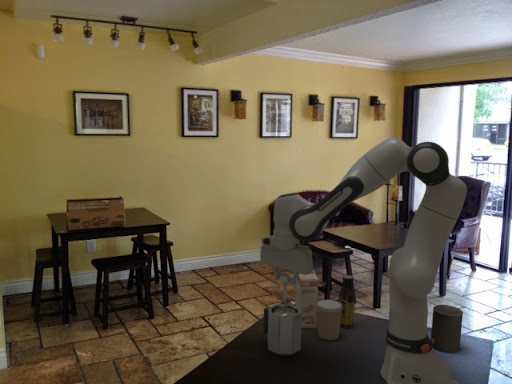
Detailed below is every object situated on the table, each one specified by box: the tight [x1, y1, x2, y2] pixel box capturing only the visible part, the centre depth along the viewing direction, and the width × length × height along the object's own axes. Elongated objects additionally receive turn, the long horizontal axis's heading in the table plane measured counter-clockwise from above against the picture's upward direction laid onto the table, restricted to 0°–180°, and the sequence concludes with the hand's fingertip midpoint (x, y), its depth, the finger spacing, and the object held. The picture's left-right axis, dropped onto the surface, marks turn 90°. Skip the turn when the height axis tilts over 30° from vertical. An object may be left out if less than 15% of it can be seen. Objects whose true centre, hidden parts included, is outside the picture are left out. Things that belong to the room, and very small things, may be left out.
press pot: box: [262, 303, 302, 358], centre depth 155 cm, size 14×11×14 cm
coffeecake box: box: [294, 269, 319, 329], centre depth 178 cm, size 15×7×20 cm, turn 1°
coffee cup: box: [316, 299, 342, 341], centre depth 165 cm, size 9×9×12 cm
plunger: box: [274, 272, 296, 315], centre depth 152 cm, size 8×8×14 cm
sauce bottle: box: [337, 274, 356, 329], centre depth 174 cm, size 7×6×20 cm
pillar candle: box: [430, 304, 464, 354], centre depth 157 cm, size 10×10×15 cm
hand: (285, 281), depth 152 cm, fingers open, 5 cm apart
